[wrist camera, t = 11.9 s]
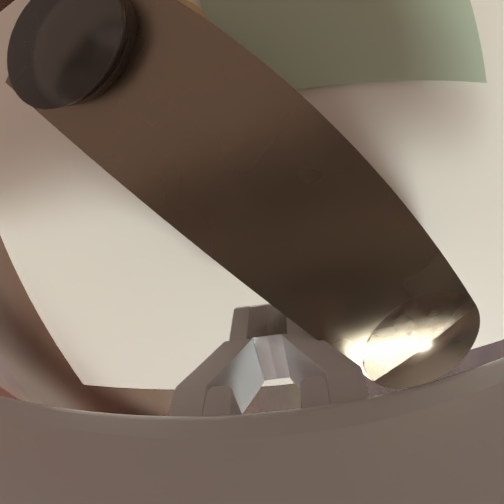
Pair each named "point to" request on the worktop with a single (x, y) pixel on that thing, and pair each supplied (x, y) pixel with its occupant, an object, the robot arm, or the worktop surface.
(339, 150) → the bar
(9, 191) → the latch board
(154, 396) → the worktop surface
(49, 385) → the worktop surface
